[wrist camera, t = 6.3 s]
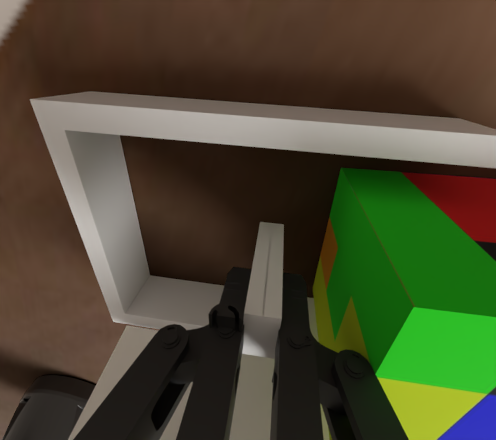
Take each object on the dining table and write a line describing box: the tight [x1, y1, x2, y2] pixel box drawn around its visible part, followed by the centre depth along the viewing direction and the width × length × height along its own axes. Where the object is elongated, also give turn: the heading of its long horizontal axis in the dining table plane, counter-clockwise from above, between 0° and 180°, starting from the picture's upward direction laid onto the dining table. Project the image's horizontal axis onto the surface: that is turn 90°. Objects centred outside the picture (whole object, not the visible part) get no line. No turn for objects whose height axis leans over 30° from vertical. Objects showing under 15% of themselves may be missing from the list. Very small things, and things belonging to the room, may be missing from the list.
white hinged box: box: [30, 91, 496, 342], centre depth 16 cm, size 20×15×4 cm
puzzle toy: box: [313, 168, 496, 440], centre depth 12 cm, size 10×10×10 cm
